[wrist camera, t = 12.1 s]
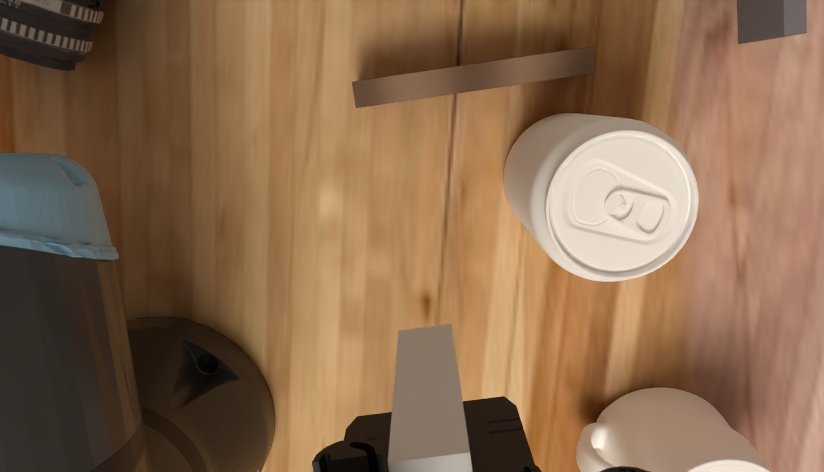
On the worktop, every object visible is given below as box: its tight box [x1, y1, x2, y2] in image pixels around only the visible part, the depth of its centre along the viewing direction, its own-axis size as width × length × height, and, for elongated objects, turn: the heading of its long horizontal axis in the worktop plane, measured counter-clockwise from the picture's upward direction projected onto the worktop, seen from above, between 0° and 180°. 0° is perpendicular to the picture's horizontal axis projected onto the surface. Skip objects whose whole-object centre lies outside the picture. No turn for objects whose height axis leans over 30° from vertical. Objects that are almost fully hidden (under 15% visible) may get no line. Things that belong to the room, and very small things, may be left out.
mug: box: [576, 388, 773, 472], centre depth 40 cm, size 12×9×8 cm
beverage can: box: [503, 113, 699, 282], centre depth 35 cm, size 8×8×12 cm
